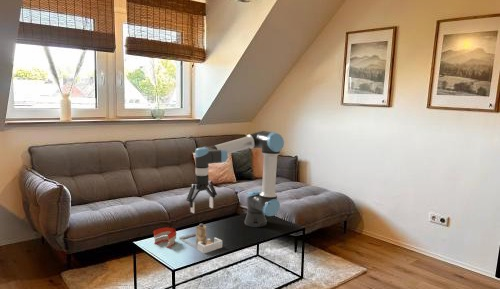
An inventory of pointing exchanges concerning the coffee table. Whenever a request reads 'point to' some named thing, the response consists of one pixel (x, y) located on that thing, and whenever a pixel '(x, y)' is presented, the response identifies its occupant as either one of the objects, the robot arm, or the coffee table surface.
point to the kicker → (202, 235)
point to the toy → (165, 231)
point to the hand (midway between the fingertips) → (202, 210)
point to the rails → (187, 237)
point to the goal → (210, 246)
